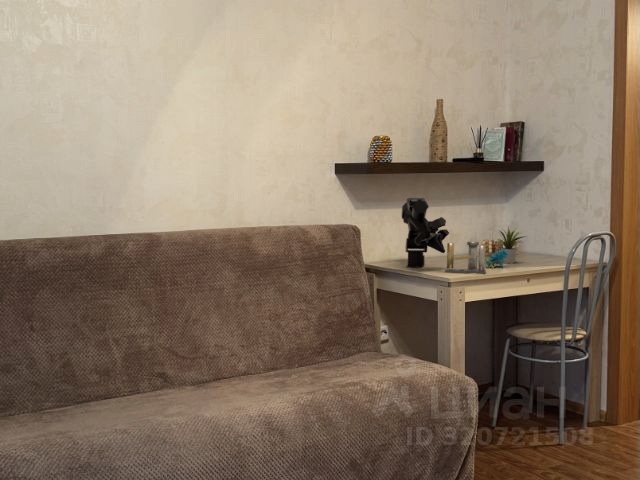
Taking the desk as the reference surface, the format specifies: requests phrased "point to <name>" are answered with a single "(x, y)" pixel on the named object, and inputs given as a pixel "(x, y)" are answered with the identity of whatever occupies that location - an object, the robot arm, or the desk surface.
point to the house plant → (510, 245)
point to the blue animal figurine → (496, 258)
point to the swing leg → (452, 255)
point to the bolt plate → (463, 271)
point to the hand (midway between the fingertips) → (444, 252)
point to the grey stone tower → (473, 256)
